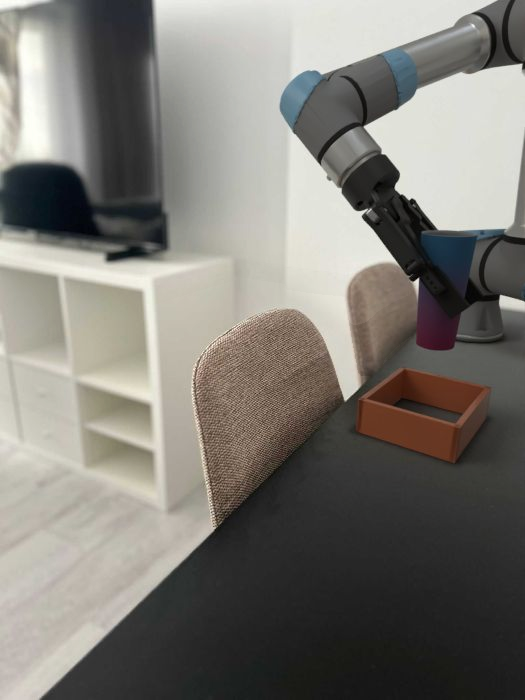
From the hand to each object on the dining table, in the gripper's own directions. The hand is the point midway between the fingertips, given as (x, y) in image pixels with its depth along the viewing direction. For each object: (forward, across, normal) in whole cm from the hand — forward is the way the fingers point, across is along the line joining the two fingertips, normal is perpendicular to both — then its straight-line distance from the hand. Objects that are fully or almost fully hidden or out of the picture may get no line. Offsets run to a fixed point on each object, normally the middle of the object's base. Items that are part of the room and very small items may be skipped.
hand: (468, 307), depth 66 cm
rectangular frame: (+10, +1, -15) cm, 18 cm away
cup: (+2, 0, -7) cm, 7 cm away
